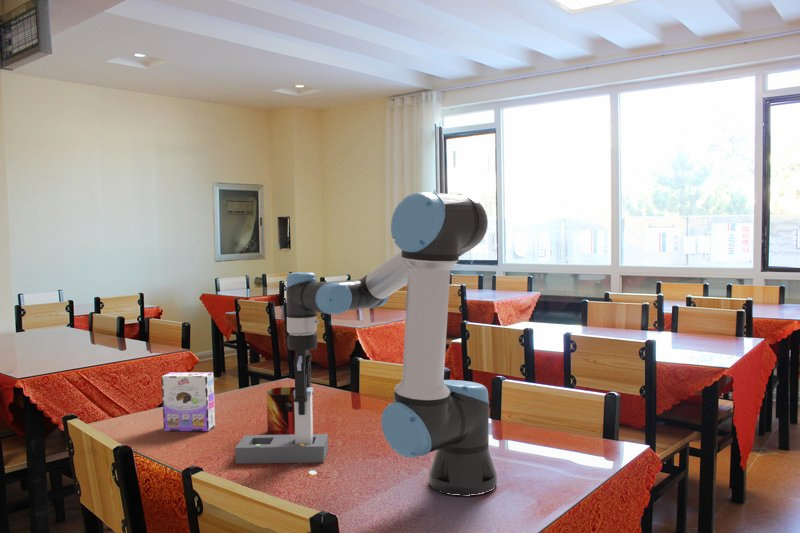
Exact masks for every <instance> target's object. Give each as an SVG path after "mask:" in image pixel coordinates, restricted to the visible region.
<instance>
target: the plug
mask: <svg viewBox="0 0 800 533" xmlns="http://www.w3.org/2000/svg"><path fill="white" fill-rule="evenodd" d="M312 392H313V393H314V387H312V386H311V387H307V401H308V427H297V402H294V408H295V444H312V442H313V434H314V430H313V429H314V421H313V420H314V418H313V417H314V414H313V395H312ZM293 396H294V399H295V390H294V391H293Z"/></svg>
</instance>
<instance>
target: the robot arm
mask: <svg viewBox="0 0 800 533" xmlns="http://www.w3.org/2000/svg"><path fill="white" fill-rule="evenodd" d="M393 211H394V212H393V214H392V215H391V216H392V217H391V222H390V231H391V232H390V233H391V237H392V239H394V243H395V245H396V246H397V247H398V248H399V249H400V251H399V252H398V253H396V254H394V255H393V256H392V257H390V258H388V259H387V260H386V261H384V262H383V263H381V264H380V265H378V266H377V267H376V268H375V269H373V270H372V271H371V272H368V274H366V275H365V276H363V277H362V278H359V279H350V280H338V281H337V280H336V281H335V280H334V281H318V279H317V275H316V273H314V272H311V271H310V272H308V271H307V272H306V271H305V272H303V271H300V272H299V271H298V272H297V271H296V272H290V273H289V274H287V275H286V286H285V291H286V292H285V294H286V331H287V333H288V335H287V340H286V341H287V348H288V350H290V351H296V354H295V356H294V357H293V368H294V369H293V370H294V387H295V399H294V400H293V401H294V402H297V427H308V401H307V387H312V374H311V371H312V364H311V362H312V353H310V350H315V349H317V347H318V334H317V333H316V332H317V330H318V324H320V320H319V319H317V317H318V316H317V315H318V313H322V314H327V315H342V314H344V313H345V312H348V311H357V310H363V309H375V308H378V307H383V306H384V305H385V304H386V303H388V300H389V299H390V296H392V294H394V293H395V292H397V291H399V290H401V289H402V288H404V287H405V286H406V304H405V306H406V307H405V321H404V322H405V323H404V343H403V361H402V363H403V364H402V378H401V381H400V382H399V383H398V384H396V385H395V386H394V392H393V393H394V394H393V402H390V403H389V404H388V405H386V408H384V409H383V411H382V414H381V422H380V424H381V430H382V433H383V436H384V438H385V441H387V442H388V444H389V446H390V448H391V449H392V450H393V451H394V452H395V453H396V454H398V455H400V456H401V457H404V458H407V459H413V458H417V457H424V456H427V455H428V454H430V453H432V452H435V455H434V458H433V461H432V463H431V467H430V469H429V480H428V481H429V485H431V486H432V487H433V488H434V489H433V488H432V487H431V486H430V487H431V488H432V489H433V490H435V489H436V490H438V491H441V492H444V493H450V494H460V495H469V494H470V495H471V494H478V493H482V492H486V491H489V490H491V489H493V488H494V487H495V486H496V484H497V485H498V476H497V475H498V474H497V472H496V467H495V464H494V462H493V460H492V456H491V453H490V450H489V448H490V446H489V444H490V443H489V442H490V441H489V436H490V433H489V432H490V429H489V422H490V420H489V411H490V410H489V405H490V401H489V391H488V388H487V387H486V386H485V385H483V384H481V383H478V382H475V381H469V380H467V381H466V380H460V379H459V380H456V379H445V378H444V377H445V363H446V348H447V346H446V345H447V330H448V314H449V298H450V281H451V280H450V279H451V270H452V268H453V267H454V266H455V265H456V264H457V263H458V262H459V258H460V257H461V256H463V255H464V254H466V253H467V252H469V251H470V250H472V249H474V248H475V247H477V246H478V245H479V244H480V243H481V242H482V240H484V237H485V236H486V233H487V230H488V224H489V221H488V216H487V212H486V210H485V208H484V206H483V205H482V204H481V203H480V201H478V200H477V199H476V198H474V197H473V196H470V195H467V194H460V193H455V194H454V193H444V192H443V193H441V192H432V191H428V192H427V191H426V192H424V191H423V192H414V193H411V194H408V195H407V196H406V197H404V198H402V200H401V202H399V203H397V206H396V208H395V209H394V210H393ZM313 395H314V391H313V392H312V396H313ZM496 487H497V486H496ZM436 490H435V491H436ZM438 491H437V492H438ZM441 492H440V493H441ZM444 493H443V494H444Z"/></svg>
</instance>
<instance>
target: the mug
mask: <svg viewBox="0 0 800 533" xmlns="http://www.w3.org/2000/svg"><path fill="white" fill-rule="evenodd" d="M294 390H295V386H282V387H281V386H279V387H274V388H270V389H268V390H266V421H267V423H266V424H267V435H294V434H295V408H294V401H293V400H294V396H293V391H294Z"/></svg>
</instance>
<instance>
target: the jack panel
mask: <svg viewBox="0 0 800 533" xmlns="http://www.w3.org/2000/svg"><path fill="white" fill-rule="evenodd" d="M328 451H329V433H317V434H316V433H313V442H312V444H295V434H294V435H268V434H245V435H244V436H243V437H242V438H241V440H239V442H238V443H237V445H236V446H235V447H234V456H235V460H234V461H235V464H291V463H293V464H294V463H296V464H297V463H300V464H301V463H303V464H304V463H305V464H306V463H309V464H310V463H325V460H326V458H327V454H328Z"/></svg>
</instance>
